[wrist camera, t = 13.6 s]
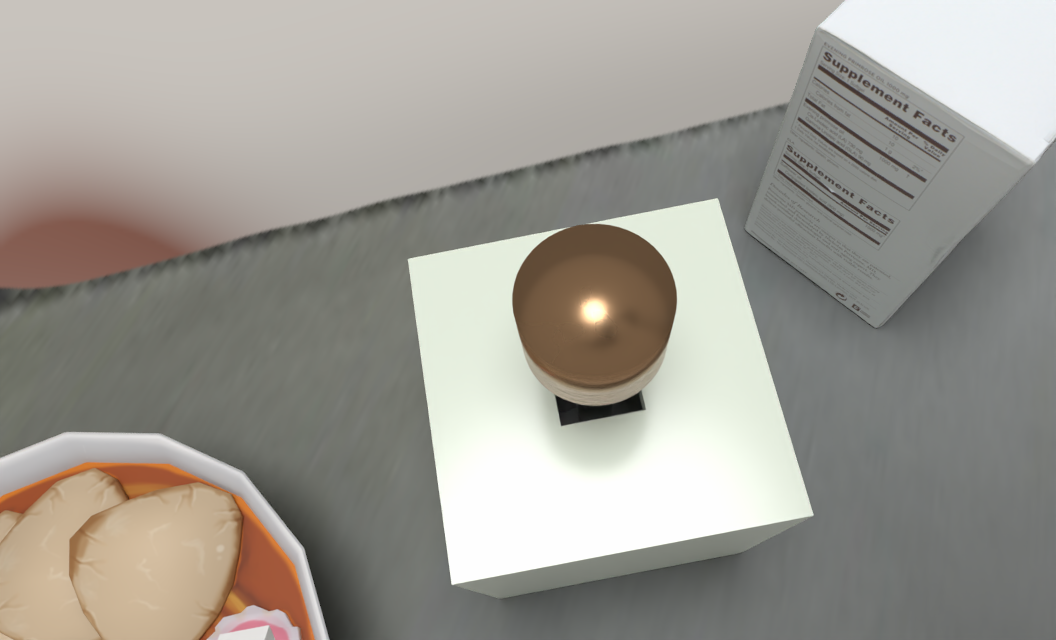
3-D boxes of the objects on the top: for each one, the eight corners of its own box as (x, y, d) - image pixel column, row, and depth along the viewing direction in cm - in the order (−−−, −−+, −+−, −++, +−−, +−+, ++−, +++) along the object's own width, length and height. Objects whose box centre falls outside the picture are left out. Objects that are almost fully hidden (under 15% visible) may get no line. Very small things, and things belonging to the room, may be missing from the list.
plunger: (666, 338, 41) (718, 121, 23) (713, 522, 37) (815, 430, 20) (487, 373, 41) (405, 183, 23) (518, 559, 37) (449, 501, 20)
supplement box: (841, 122, 47) (962, -128, 32) (980, 214, 45) (1189, -10, 29) (737, 231, 45) (811, 22, 30) (876, 335, 43) (1039, 165, 27)
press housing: (681, 326, 44) (718, 198, 31) (741, 552, 39) (813, 515, 26) (464, 368, 44) (407, 258, 31) (499, 598, 39) (452, 584, 26)
